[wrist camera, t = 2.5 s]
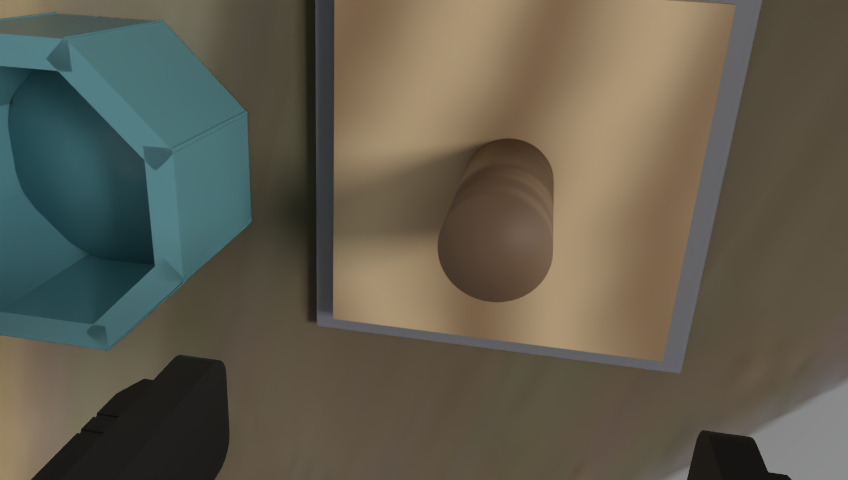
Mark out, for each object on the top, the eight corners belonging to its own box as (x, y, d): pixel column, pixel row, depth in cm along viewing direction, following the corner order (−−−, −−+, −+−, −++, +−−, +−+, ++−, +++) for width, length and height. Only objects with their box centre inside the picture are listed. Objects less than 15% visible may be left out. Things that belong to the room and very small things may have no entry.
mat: (763, -29, 24) (768, -29, 23) (678, 365, 29) (680, 373, 29) (320, -54, 26) (314, -55, 25) (321, 319, 31) (316, 325, 31)
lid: (729, 2, 23) (800, 23, 17) (659, 348, 28) (691, 474, 22) (342, -22, 25) (262, -13, 18) (339, 307, 30) (276, 412, 23)
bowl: (244, 26, 27) (165, 45, 22) (255, 291, 31) (191, 363, 26) (-22, 6, 29) (-159, 19, 23) (23, 261, 33) (-85, 324, 27)
